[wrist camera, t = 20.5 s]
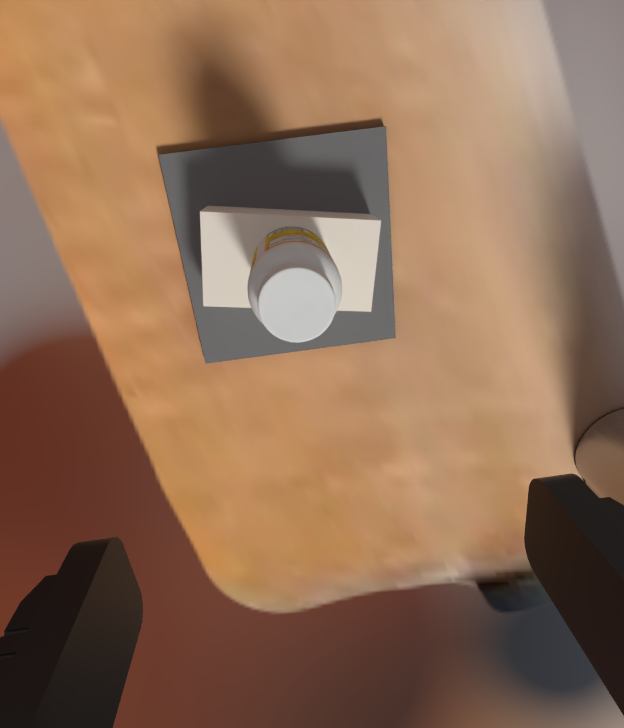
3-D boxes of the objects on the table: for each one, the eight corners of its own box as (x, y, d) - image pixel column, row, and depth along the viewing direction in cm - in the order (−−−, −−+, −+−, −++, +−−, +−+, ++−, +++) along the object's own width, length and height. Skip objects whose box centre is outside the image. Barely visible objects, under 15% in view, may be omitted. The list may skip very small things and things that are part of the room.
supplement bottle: (289, 207, 31) (296, 227, 22) (346, 263, 33) (372, 302, 24) (235, 267, 32) (221, 308, 24) (292, 318, 34) (299, 374, 25)
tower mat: (393, 335, 40) (395, 338, 40) (206, 360, 40) (205, 363, 39) (384, 126, 34) (385, 126, 33) (160, 154, 33) (158, 154, 33)
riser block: (361, 296, 38) (371, 311, 34) (210, 291, 37) (203, 306, 33) (370, 213, 35) (381, 220, 32) (207, 205, 34) (199, 211, 31)
